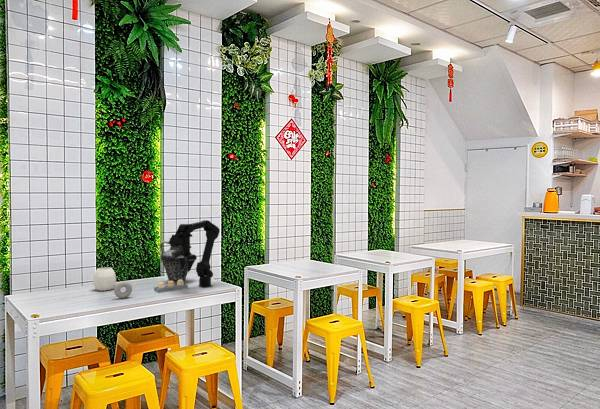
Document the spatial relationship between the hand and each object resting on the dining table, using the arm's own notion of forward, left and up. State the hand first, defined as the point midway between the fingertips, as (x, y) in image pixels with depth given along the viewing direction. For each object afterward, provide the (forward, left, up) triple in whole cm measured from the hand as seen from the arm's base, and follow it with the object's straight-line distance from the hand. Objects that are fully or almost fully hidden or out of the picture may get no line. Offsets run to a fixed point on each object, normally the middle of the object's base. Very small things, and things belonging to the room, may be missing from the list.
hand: (185, 270), depth 297 cm
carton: (+5, -11, -13) cm, 18 cm away
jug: (-7, -30, -13) cm, 34 cm away
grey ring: (+36, -6, -13) cm, 39 cm away
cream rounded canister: (+37, -38, -13) cm, 55 cm away
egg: (+5, -11, -12) cm, 17 cm away
